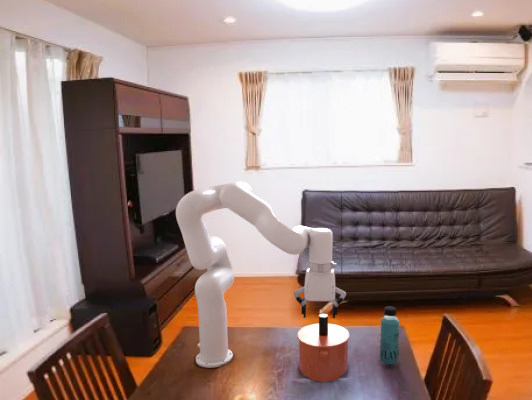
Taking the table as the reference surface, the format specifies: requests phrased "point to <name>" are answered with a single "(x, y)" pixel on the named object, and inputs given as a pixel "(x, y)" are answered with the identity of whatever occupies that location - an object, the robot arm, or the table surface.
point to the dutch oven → (323, 362)
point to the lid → (323, 334)
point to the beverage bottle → (389, 336)
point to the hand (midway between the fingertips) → (319, 316)
